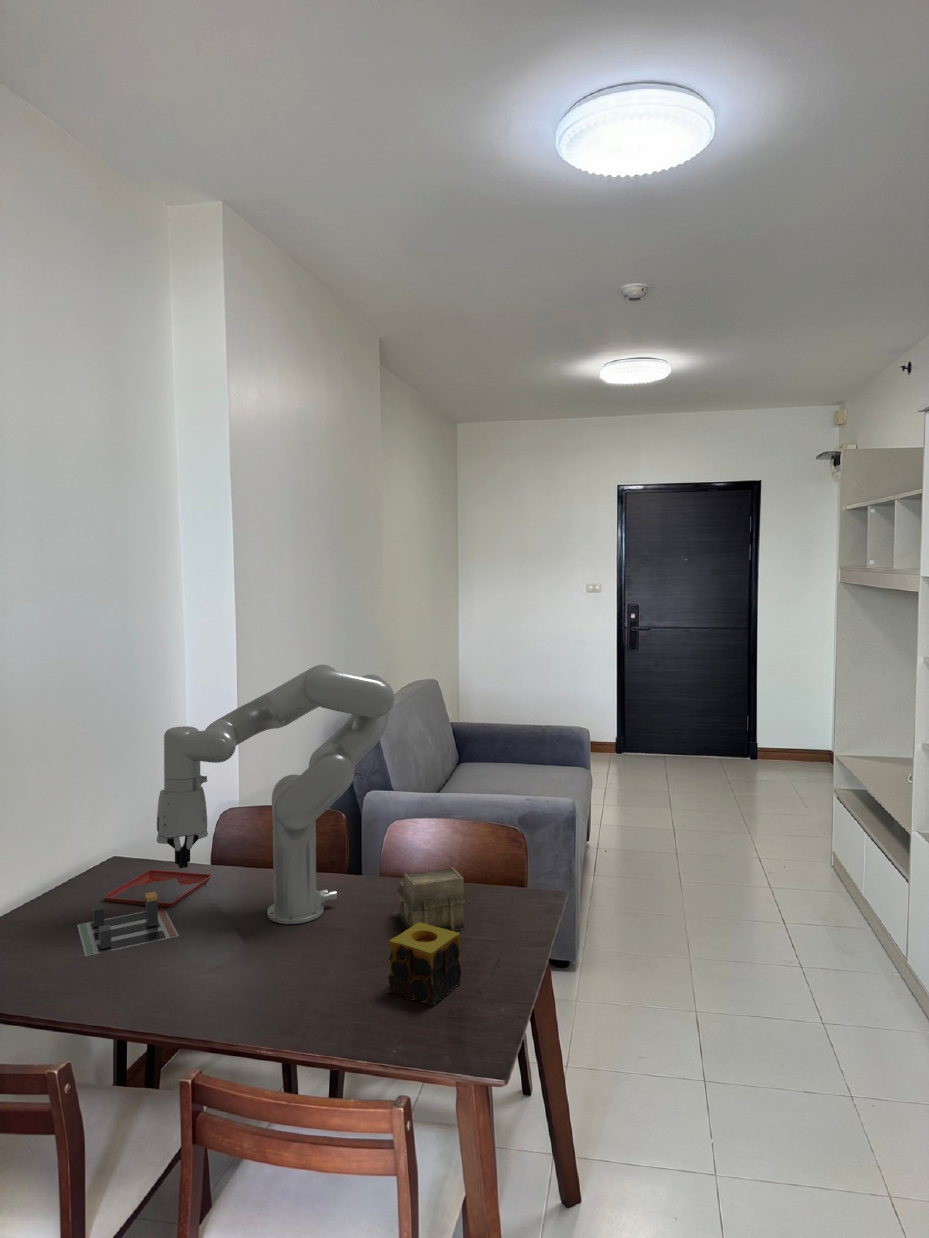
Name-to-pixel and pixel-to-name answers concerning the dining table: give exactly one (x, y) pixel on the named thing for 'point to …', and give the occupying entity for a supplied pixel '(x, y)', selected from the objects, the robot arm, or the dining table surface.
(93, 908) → the breaker
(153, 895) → the block
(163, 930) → the breaker panel
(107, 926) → the breaker
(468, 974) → the dining table surface
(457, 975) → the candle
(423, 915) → the miniature house
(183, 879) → the red square tray
